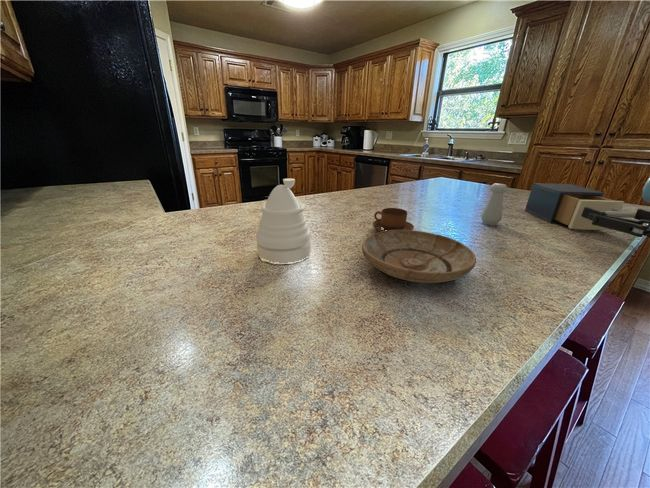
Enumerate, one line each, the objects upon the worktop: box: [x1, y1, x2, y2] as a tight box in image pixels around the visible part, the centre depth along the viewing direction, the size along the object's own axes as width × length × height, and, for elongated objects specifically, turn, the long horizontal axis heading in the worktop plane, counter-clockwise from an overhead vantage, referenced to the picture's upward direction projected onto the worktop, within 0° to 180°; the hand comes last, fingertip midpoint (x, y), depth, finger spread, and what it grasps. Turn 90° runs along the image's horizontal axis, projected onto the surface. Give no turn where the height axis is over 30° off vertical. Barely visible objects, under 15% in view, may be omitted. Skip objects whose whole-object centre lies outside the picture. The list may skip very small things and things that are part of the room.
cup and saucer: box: [372, 207, 415, 232], centre depth 80 cm, size 12×12×6 cm
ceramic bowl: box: [361, 229, 477, 284], centre depth 59 cm, size 23×24×5 cm
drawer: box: [554, 194, 636, 231], centre depth 83 cm, size 20×11×9 cm, turn 174°
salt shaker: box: [480, 182, 508, 227], centre depth 85 cm, size 6×6×13 cm
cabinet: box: [524, 182, 605, 224], centre depth 93 cm, size 15×13×11 cm
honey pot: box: [256, 177, 312, 263], centre depth 62 cm, size 13×13×18 cm
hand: (610, 212), depth 75 cm, fingers open, 13 cm apart
